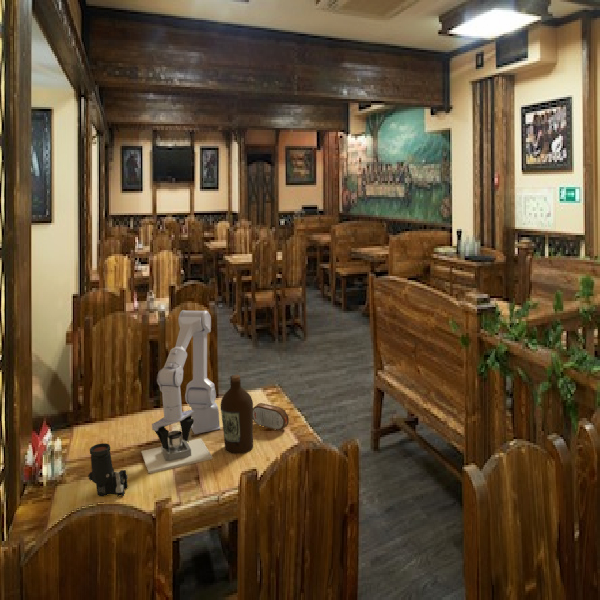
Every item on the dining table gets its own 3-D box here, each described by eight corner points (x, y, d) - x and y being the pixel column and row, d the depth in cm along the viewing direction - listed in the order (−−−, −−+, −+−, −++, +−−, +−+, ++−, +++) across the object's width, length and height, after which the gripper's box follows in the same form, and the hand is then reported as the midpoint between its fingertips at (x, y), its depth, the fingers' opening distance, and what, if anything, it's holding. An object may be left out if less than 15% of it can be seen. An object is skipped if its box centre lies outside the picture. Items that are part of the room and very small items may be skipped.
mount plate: (201, 440, 181) (200, 432, 180) (212, 458, 167) (211, 450, 167) (141, 453, 173) (140, 444, 172) (148, 473, 159) (147, 464, 159)
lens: (177, 449, 173) (176, 429, 172) (186, 453, 170) (184, 433, 169) (166, 454, 170) (164, 434, 168) (174, 458, 167) (172, 437, 166)
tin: (289, 430, 187) (288, 408, 185) (284, 433, 184) (283, 411, 183) (256, 422, 195) (255, 400, 193) (250, 425, 192) (249, 403, 191)
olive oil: (235, 438, 182) (231, 369, 177) (261, 444, 176) (257, 373, 172) (216, 451, 172) (211, 379, 168) (243, 457, 167) (238, 383, 163)
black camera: (117, 453, 143) (80, 455, 143) (122, 499, 146) (85, 501, 145) (125, 439, 151) (90, 442, 151) (129, 483, 154) (95, 486, 153)
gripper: (184, 395, 175) (187, 433, 177) (145, 408, 164) (149, 448, 167) (196, 399, 170) (199, 438, 172) (157, 413, 159) (161, 455, 162)
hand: (175, 444), depth 169 cm, fingers open, 7 cm apart
